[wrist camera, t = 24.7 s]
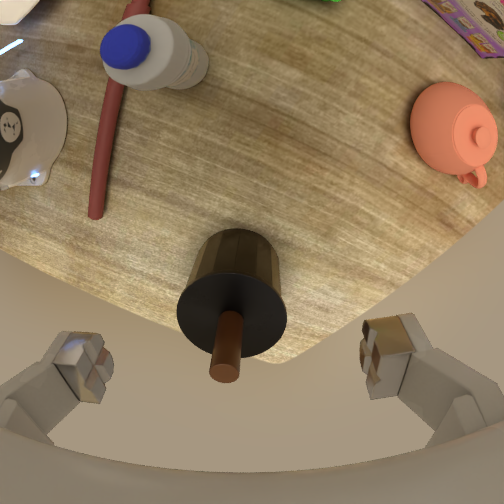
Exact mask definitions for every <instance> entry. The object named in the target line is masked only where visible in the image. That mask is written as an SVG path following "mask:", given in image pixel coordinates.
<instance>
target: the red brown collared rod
mask: <svg viewBox="0 0 504 504" xmlns="http://www.w3.org/2000/svg"><path fill="white" fill-rule="evenodd" d="M149 2H150V0H132V2H131V4H127V6H126V9H125V12H124V14H123V17H122V21H123V20H125V19H126V18H129V17H131V16H134V15H139V14H149V12H150V10H151V8H150V7H148V5H149ZM124 86H125V85H123V84H120V83H118V82H116V81H115V80H113V79H112V78H111V77H110V76H109V80H108V84H107V88H106V93H105V97H104V102H103V107H102V112H101V117H100V123H99V128H98V134H97V140H96V147H95V153H94V161H93V168H92V176H91V186H90V196H89V207H88V217H89V218H90V219H93V220H99V219H101V218H102V217H103V210H104V200H105V192H106V184H107V176H108V169H109V162H110V156H111V150H112V144H113V138H114V133H115V127H116V122H117V117H118V112H119V108H120V103H121V99H122V94H123V90H124Z"/></svg>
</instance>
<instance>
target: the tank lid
mask: <svg viewBox="0 0 504 504" xmlns="http://www.w3.org/2000/svg"><path fill="white" fill-rule="evenodd" d="M177 320H178V323H179V326H180V328H181V330H182V332H183V333H184V334H185V336H186V337H187V338H188V339H189V340H190V341H191V342H192V343H193V344H194V345H195V346H197V347H198V348H200V349H202V350H203V351H205V352H208V353H210V354H212V359H211V364H210V370H209V374H210V376H211V377H212V378H213V379H214V380H216V381H218V382H222V383H231V382H234V381H236V380H237V379H238V377H239V372H240V360H241V358H246V357H251V356H255V355H258V354H260V353H263V352H264V351H266V350H268V349H270V348H271V347H272V346H274V345H275V344H276V343H277V342H278V340H279V339H280V338H281V336H282V335H283V333H284V330H285V328H286V323H287V312H286V307H285V304H284V301H283V299H282V297H281V296H280V294H279V293H278V291H277V290H276V289H275V288H274V287H273V286H272V285H270V284H269V283H268V282H266V281H265V280H263V279H262V278H260V277H258V276H255V275H253V274H250V273H247V272H242V271H236V270H220V271H214V272H210V273H207V274H204V275H202V276H200V277H198V278H196V279H195V280H193V281H192V282H191V283H190V284H189V285H188V286H187V287H186V288H185V289H184V290H183V292H182V294H181V296H180V298H179V301H178V304H177Z"/></svg>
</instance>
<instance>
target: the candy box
mask: <svg viewBox="0 0 504 504" xmlns="http://www.w3.org/2000/svg"><path fill="white" fill-rule="evenodd" d="M422 1H423V2H424V3H425V4H427V5H428V6H429V7H430V8H431V9H432V10H433V11H435V12H436V13H437V14H438V15H439V16H440V17H442V18H443V19H444V20H445V21H446V22H447V23H448V24H449V25H450V26H451V27H452V28H453V29H454V30H456V31H457V32H458V33H459V34H460V36H462V38H464V39H465V40H466V41H467V42H468V43H469V45H470V46H471V47H472V48H473V49H474V50H475V51H476V52H477V53H478V54H479V55H480V56H481V58H483V59H484V58H504V0H422Z"/></svg>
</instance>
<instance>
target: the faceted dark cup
mask: <svg viewBox="0 0 504 504" xmlns="http://www.w3.org/2000/svg"><path fill="white" fill-rule="evenodd" d="M220 270H236V271H242V272H247V273H250V274H253V275H255V276H258V277H260V278H262V279H263V280H265V281H266V282H268V283H269V284H270V285H272V286H273V287H274V288H275V289H276V290H277V291H278V293H279V294H280V296H281V286H280V273H279V261H278V256H277V254H276V252H275V250H274V248H273V246H272V245H271V244H270V243H269V242H268V241H267V240H266V239H265V238H264V237H262V236H261V235H259V234H257V233H255V232H253V231H250V230H245V229H227V230H224V231H221V232H218V233H216V234H214V235H213V236H211V237H210V238H209V239H208V240H207V241H206V242H205V243H204V244H203V246H202V248H201V249H200V250H199V253H198V255H197V258H196V261H195V263H194V266H193V269H192V271H191V274H190V277H189V280H188V282H187V285H186V287H187V286H188V285H189V284H190V283H191V282H192V281H193V280H195V279H196V278H198V277H200V276H202V275H204V274H207V273H210V272H214V271H220Z"/></svg>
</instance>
